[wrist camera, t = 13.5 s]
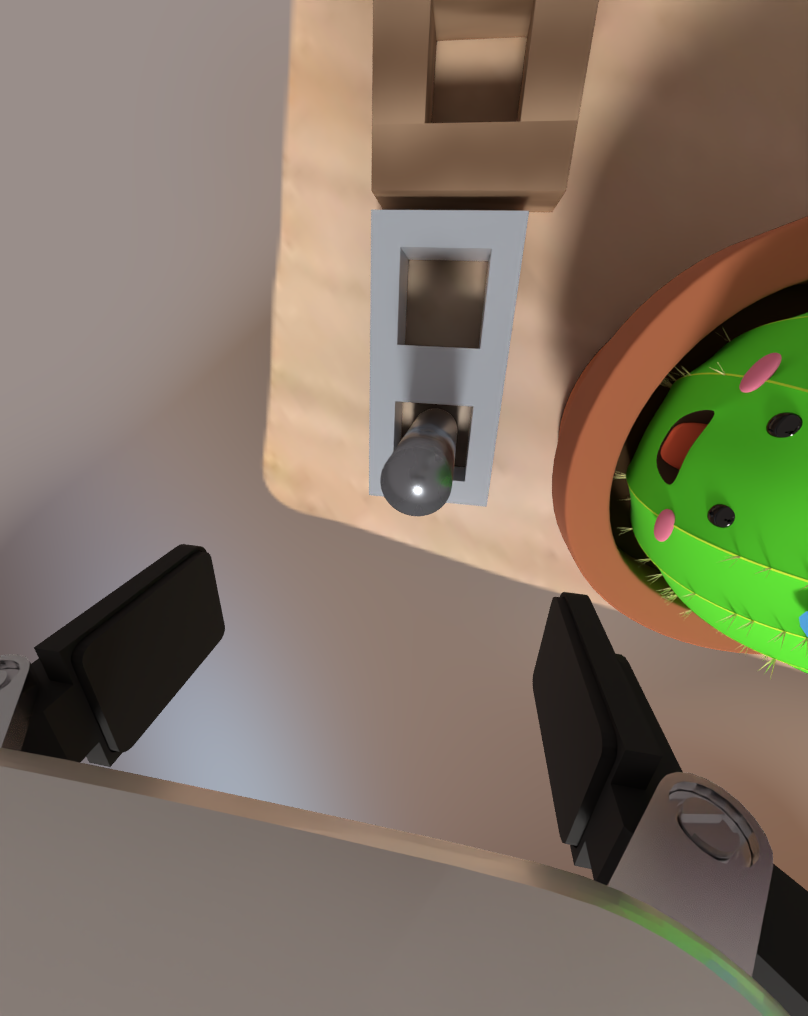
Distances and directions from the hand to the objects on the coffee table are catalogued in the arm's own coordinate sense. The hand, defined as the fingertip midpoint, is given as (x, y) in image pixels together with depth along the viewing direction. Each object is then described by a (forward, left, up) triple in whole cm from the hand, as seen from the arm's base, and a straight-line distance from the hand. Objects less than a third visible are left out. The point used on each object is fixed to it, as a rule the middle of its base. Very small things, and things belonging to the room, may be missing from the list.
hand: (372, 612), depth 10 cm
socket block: (-22, +1, -26) cm, 33 cm away
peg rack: (-5, 0, -26) cm, 26 cm away
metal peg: (0, 0, -26) cm, 26 cm away
